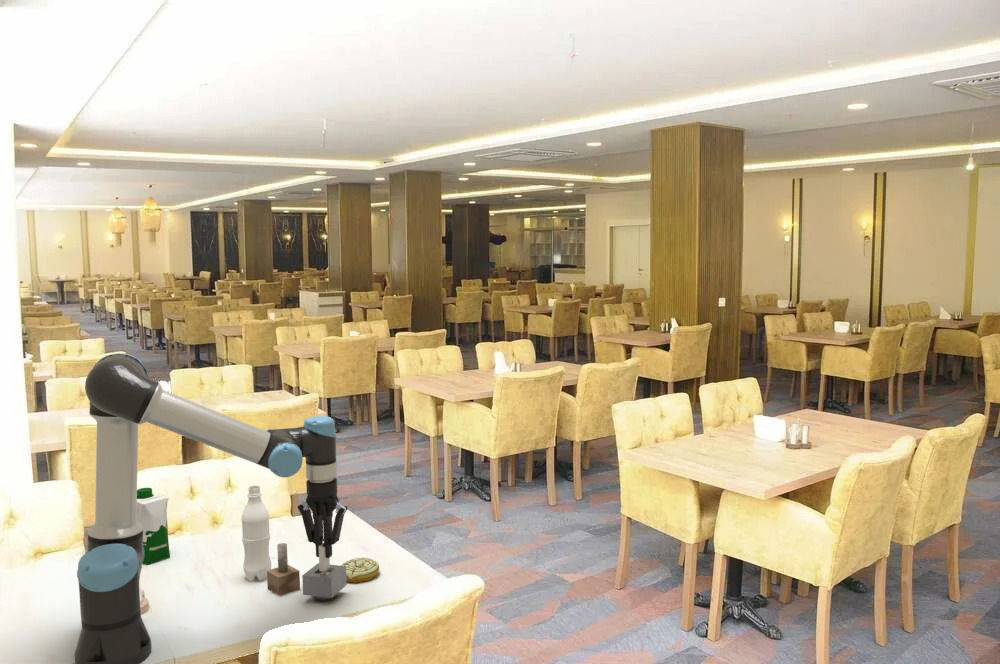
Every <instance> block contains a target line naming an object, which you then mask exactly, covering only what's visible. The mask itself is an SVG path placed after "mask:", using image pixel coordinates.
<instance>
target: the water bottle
mask: <svg viewBox="0 0 1000 664" xmlns="http://www.w3.org/2000/svg"><path fill="white" fill-rule="evenodd" d="M247 491H248V493H247V498H248V499H247V503H246V505H245V507H244V509H243V511H242V514H241V519H240V520H241V529H242V532H241V533H242V537H241V541H242V545H243V547H244V561H243V564H242V565H243V572H244V574H245V577H246V578H247V580H249V581H251V582H252V581H254V580H255V579H256V577H257V579H258V581H264V580H265V579H267V571H268V570H271V569H272V561H271V556H270V540H271V533H270V513H269V511H268V509H267V507H266V505H265V504H264V502H263V500H262V497H261V496H262V493H261V486H260V485H251V486H248V490H247Z"/></svg>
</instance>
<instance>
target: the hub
mask: <svg viewBox="0 0 1000 664" xmlns="http://www.w3.org/2000/svg"><path fill="white" fill-rule="evenodd" d="M329 573H330V571H325V572H323V571H321V572H319V574H326V575H328V574H329ZM338 595H339V594H338V593H337V594H336V595H335V596H334V597H333V598H327V597H319V596H312V597H313V601H315V602H317V603H322V604H323V603H330V602H332V601H334V600H337V598H338Z"/></svg>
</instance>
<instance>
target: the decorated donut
mask: <svg viewBox="0 0 1000 664" xmlns="http://www.w3.org/2000/svg"><path fill="white" fill-rule="evenodd" d="M340 566H346V582H347V583H357V584H358V583H361V582H366V581H371V580H372V579H374V578H375V577H376V576H377V575H378V573H379V571H380V564H379V562H378V561H376V560H374V559H372V558H368V557H355V558H352V559H348V560H346V561H345V562H343V563H342V564H341V565H340Z"/></svg>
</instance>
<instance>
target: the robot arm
mask: <svg viewBox="0 0 1000 664" xmlns="http://www.w3.org/2000/svg"><path fill="white" fill-rule="evenodd" d="M84 389H85V394H86V397H87V399H88V400H89V416H91V417H92V418H93V419H94V421H96V452H95V453H96V455H95V458H96V460H95V462H96V463H95V465H96V466H95V467H96V468H95V513H94V514H95V517H94V519H95V521H94V522H95V523H94V524H93V525H92V526H91V527H90V528H89V529H88V531H87V549H86V550H87V551H86V552H85V553H83V555H82V556H81V557H80V559H79V561H78V564H77V571H76V572H77V573H76V578H77V582H78V592H79V593H78V594H79V607H80V609H79V610H80V620H81V621H80V622H81V623H80V624H81V630H80V634H79V637H78V641H77V644H76V647H75V651H74V657H73V659H74V664H140V663H141V662H143V661H144V660H146V659H147V658H148V657H149V655H150V654H151V653H152V640H151V639H152V638H151V637H150V634H149V631H148V629H147V627H146V625H145V623H144V621H143V618H142V615H141V614H142V613H141V597H140V595H141V594H140V578H141V572H142V566H143V563H142V562H143V560H144V547H143V526H142V525H141V524H140V523H139V522H137V520H136V507H137V490H138V458H139V457H138V452H139V450H138V448H139V425H143V424H144V423H148V424H151V425H154V426H156V427H159V428H162V429H164V430H166V431H169V432H172V433H175V434H177V435H180V436H183V437H185V438H188V439H190V440H193V441H196V442H198V443H201V444H204V445H207V446H208V447H211V448H214V449H217V450H219V451H222V452H225V453H228V454H230V455H233V456H235V457H237V458H240V459H243V460H245V461H249V462H251V463H253V464H256V465H258V466H260V467H263V468H265V469H269V471H270V472H271V473H273V474H274V475H275V476H277V477H280V478H283V479H284V478H289V477H293V476H295V474H297V473H299V471H300V469H301V468H302V466H303V460H304V459H305V479H306V483H305V485H306V498H305V501H304V502H301V503H300V504H299V505H297V509H298V511H299V512H300V514H301V518H302V521H303V526H304V528H305V529H304V530H305V534H306V536H307V537H306V538H307V541H308V543H312V544H314V545H315V556H316V557H317V558H318V563H319V571H323V572H325V571H326V570H327V569H329V568H330V565H331V564H330V563H331V562H330V560H331V559H330V558H332V556H333V545H335V544H336V543H337V542H339V541H340V539H341V538H340V537H341V533H342V532H341V531H342V526H343V522H344V518H345V514H346V512H347V511H348V509H349V508H348V506H347V505H342V504H341V503H340V500H339V498H338V479H337V475H338V474H337V473H338V472H337V471H338V470H337V442H336V441H337V434H336V426H335V424H336V423H335V419H333V417H330V416H325V415H319V416H318V415H317V416H311V417H307V418H305V419H304V422H303V426H299V427H287V428H275V429H271V428H268V429H265V430H264V429H261V428H259V427H255V426H253V425H251V424H248V423H246V422H244V421H241V420H239V419H236V418H233V417H232V416H230V415H226V414H223V413H221V412H219V411H216V410H214V409H211V408H210V407H206V406H204V405H201V404H199V403H196V402H194V401H191V400H190V399H189V400H188V399H186V398H184V397H182V396H180V395H179V396H178V395H176V394H174V393H172V392H170V391H166V390H165V389H163V387H162V384H161V383H160V382H157V381H154V380H152V379H150V378H149V374H148V371H147V369H146V367H145V365H144V364H143V362H142V361H141V360H139V358H137V357H135V356H133V355H131V354H128V353H122V352H121V353H120V352H119V353H112V354H108V355H105V356H104V357H101V358H100V359H99V360H98V361H97V362H96V363H95V364H94V365H93V368H92V369H90V370H89V373H88V375H87V377H86V379H85V384H84ZM303 458H304V459H303ZM334 511H335V517H334V522H333V515H334Z"/></svg>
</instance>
